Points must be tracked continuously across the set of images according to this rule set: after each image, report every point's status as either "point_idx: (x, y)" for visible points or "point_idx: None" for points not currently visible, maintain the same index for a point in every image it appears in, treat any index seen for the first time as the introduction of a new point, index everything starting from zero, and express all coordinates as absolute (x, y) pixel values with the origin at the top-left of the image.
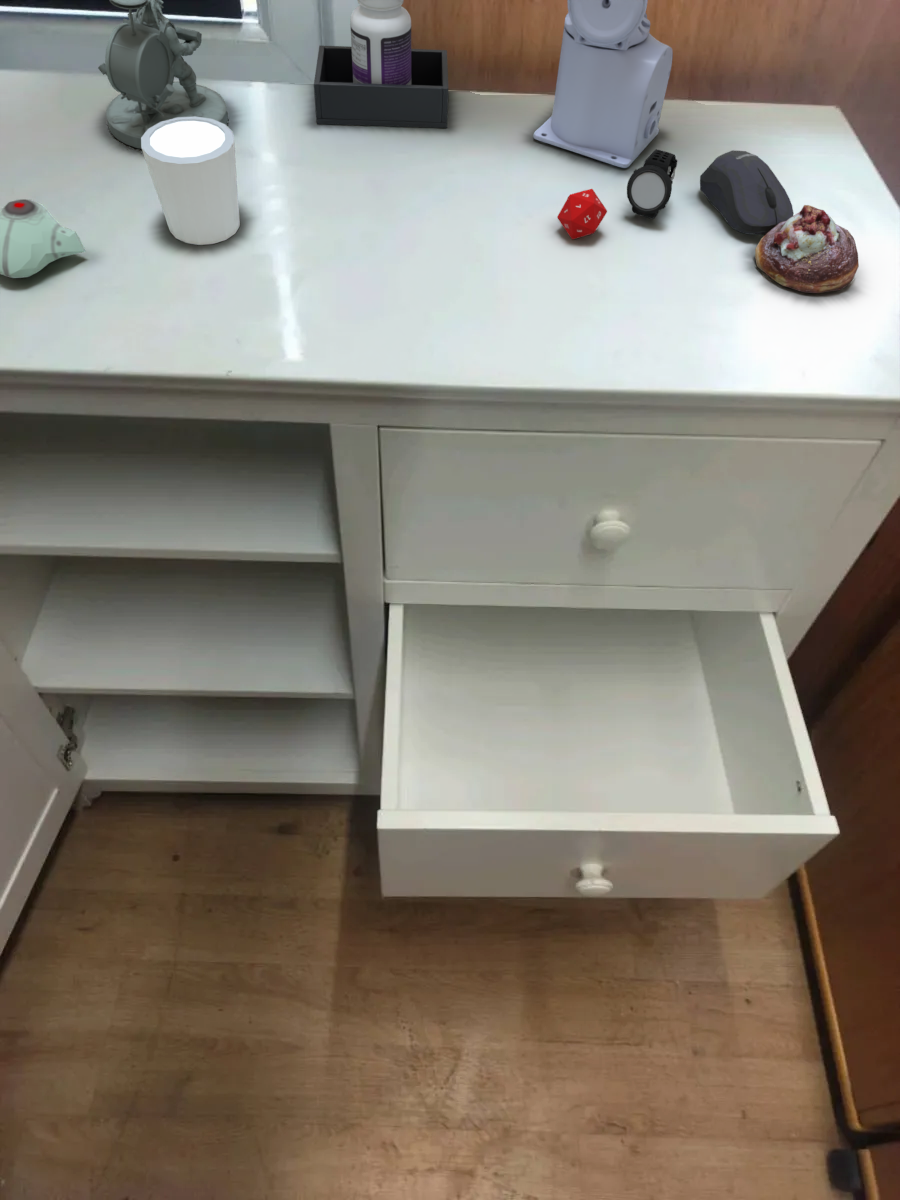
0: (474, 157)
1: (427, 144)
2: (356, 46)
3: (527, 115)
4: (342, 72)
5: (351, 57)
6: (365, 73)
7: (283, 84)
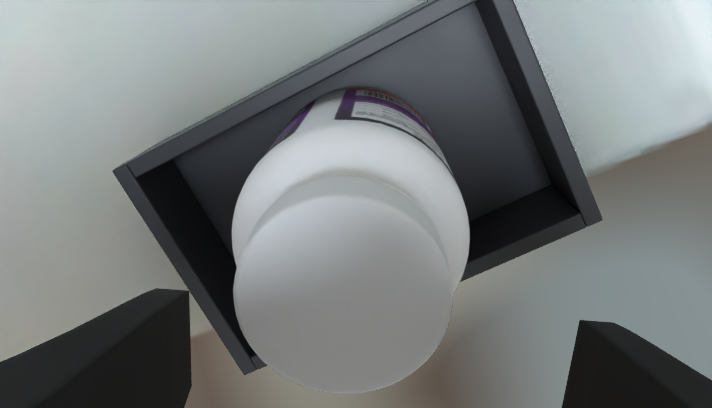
0: (14, 46)
1: (153, 41)
2: (402, 122)
3: (29, 302)
4: (513, 213)
5: (494, 239)
6: (362, 99)
7: (671, 133)
